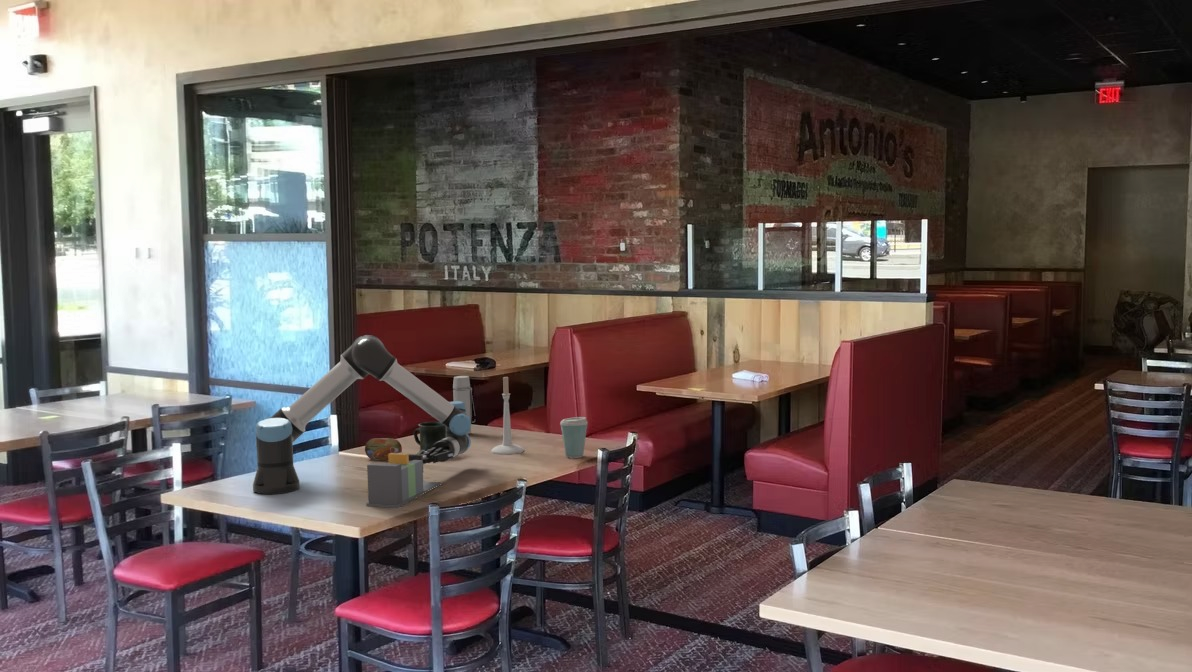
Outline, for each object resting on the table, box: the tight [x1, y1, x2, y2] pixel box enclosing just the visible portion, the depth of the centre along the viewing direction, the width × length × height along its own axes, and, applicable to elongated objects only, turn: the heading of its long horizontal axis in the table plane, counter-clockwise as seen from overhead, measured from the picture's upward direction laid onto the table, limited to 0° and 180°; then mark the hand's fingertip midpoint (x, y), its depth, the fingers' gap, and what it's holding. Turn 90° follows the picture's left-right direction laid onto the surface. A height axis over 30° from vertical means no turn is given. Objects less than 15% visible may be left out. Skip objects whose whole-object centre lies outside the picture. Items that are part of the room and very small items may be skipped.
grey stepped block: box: [366, 460, 443, 509], centre depth 334 cm, size 32×11×13 cm, turn 164°
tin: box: [364, 437, 403, 461], centre depth 392 cm, size 15×3×8 cm, turn 71°
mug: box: [413, 421, 446, 451], centre depth 402 cm, size 11×15×12 cm
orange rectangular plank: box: [388, 453, 410, 464], centre depth 330 cm, size 2×6×3 cm, turn 73°
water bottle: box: [452, 375, 476, 435], centre depth 443 cm, size 9×8×25 cm
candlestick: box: [490, 376, 525, 455], centre depth 403 cm, size 13×13×30 cm
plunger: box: [400, 452, 423, 465], centre depth 333 cm, size 17×6×8 cm, turn 164°
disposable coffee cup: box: [559, 416, 588, 459], centre depth 391 cm, size 11×11×15 cm
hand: (415, 463), depth 341 cm, fingers closed
